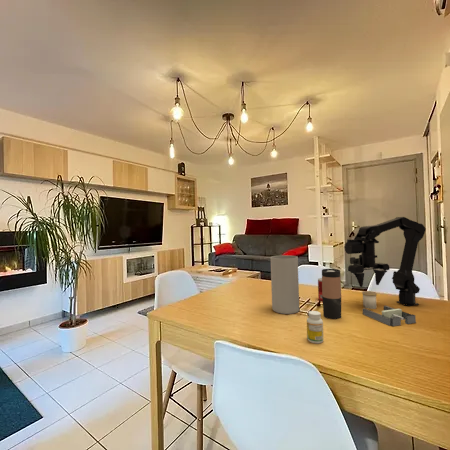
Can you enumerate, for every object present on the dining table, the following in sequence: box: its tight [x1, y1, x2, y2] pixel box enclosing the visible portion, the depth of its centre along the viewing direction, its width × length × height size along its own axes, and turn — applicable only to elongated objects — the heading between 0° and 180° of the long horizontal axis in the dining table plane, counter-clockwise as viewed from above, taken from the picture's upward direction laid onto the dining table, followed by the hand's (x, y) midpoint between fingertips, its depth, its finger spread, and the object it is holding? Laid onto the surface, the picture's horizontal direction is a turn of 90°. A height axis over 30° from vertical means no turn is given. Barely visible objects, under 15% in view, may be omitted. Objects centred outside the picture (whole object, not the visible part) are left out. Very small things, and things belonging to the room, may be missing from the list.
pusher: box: [381, 308, 405, 321], centre depth 104 cm, size 9×6×4 cm, turn 104°
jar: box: [361, 290, 377, 310], centre depth 123 cm, size 6×6×7 cm
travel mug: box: [321, 268, 342, 320], centre depth 112 cm, size 8×8×20 cm
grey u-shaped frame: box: [362, 305, 417, 327], centre depth 108 cm, size 12×15×3 cm
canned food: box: [317, 277, 323, 303], centre depth 135 cm, size 8×8×11 cm
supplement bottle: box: [306, 310, 324, 344], centre depth 90 cm, size 5×5×10 cm
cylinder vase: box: [270, 255, 300, 315], centre depth 122 cm, size 12×12×25 cm
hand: (369, 285), depth 123 cm, fingers open, 9 cm apart
